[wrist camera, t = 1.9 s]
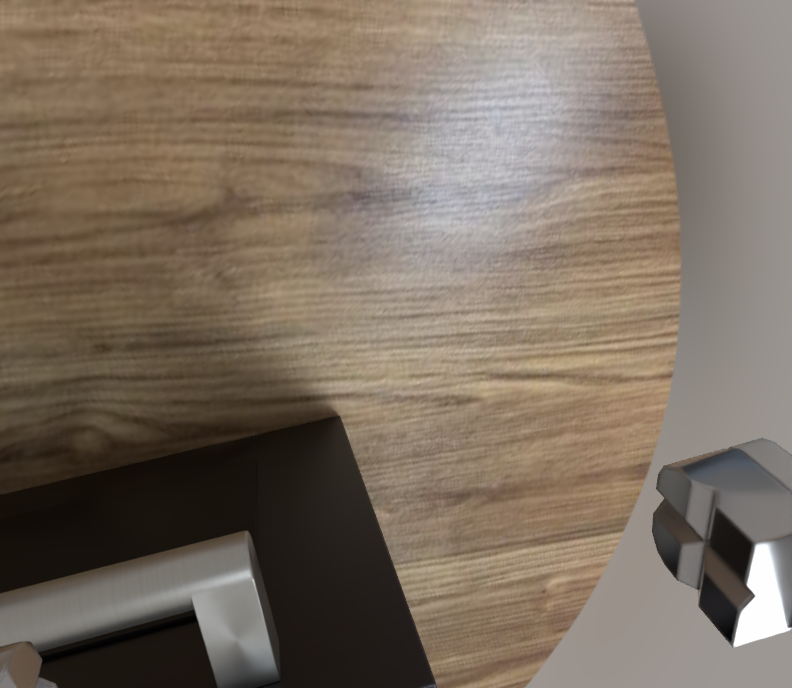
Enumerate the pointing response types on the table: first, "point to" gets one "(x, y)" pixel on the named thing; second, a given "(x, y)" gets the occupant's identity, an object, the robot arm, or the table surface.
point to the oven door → (211, 572)
